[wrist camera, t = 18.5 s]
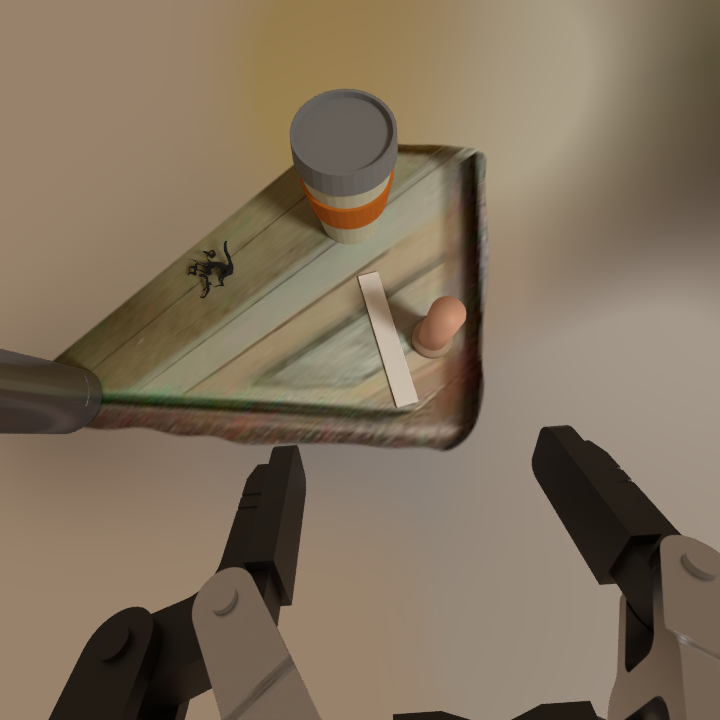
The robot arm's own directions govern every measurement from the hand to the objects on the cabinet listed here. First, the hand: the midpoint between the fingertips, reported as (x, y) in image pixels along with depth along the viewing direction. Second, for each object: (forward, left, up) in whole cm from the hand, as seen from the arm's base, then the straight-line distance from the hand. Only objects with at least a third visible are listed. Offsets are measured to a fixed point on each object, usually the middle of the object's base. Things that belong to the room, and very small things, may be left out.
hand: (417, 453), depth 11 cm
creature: (-18, +30, -33) cm, 48 cm away
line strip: (+5, +14, -33) cm, 36 cm away
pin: (+11, +12, -33) cm, 36 cm away
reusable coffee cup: (+5, +34, -33) cm, 47 cm away
